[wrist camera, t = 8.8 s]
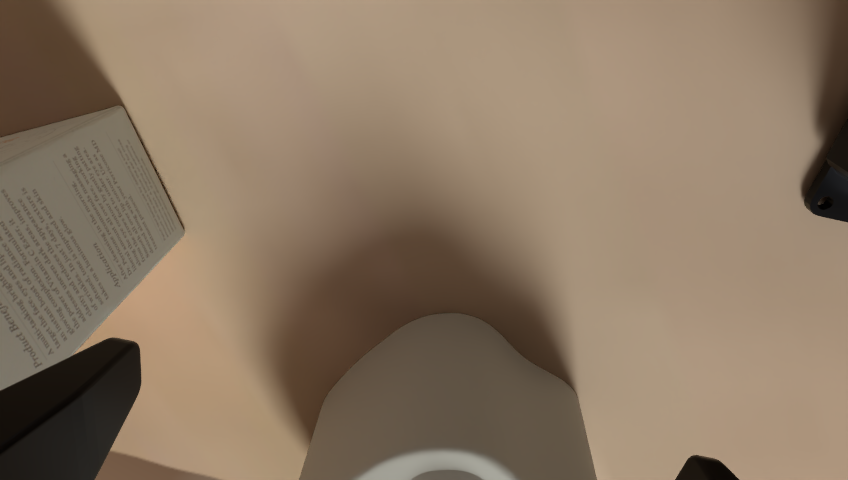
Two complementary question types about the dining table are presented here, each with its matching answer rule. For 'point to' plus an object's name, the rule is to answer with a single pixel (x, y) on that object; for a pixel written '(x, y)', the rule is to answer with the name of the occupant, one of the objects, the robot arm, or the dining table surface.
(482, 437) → the lumpy-topped squat cylinder
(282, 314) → the dining table surface
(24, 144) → the small box
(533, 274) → the dining table surface
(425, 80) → the dining table surface
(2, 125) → the dining table surface
